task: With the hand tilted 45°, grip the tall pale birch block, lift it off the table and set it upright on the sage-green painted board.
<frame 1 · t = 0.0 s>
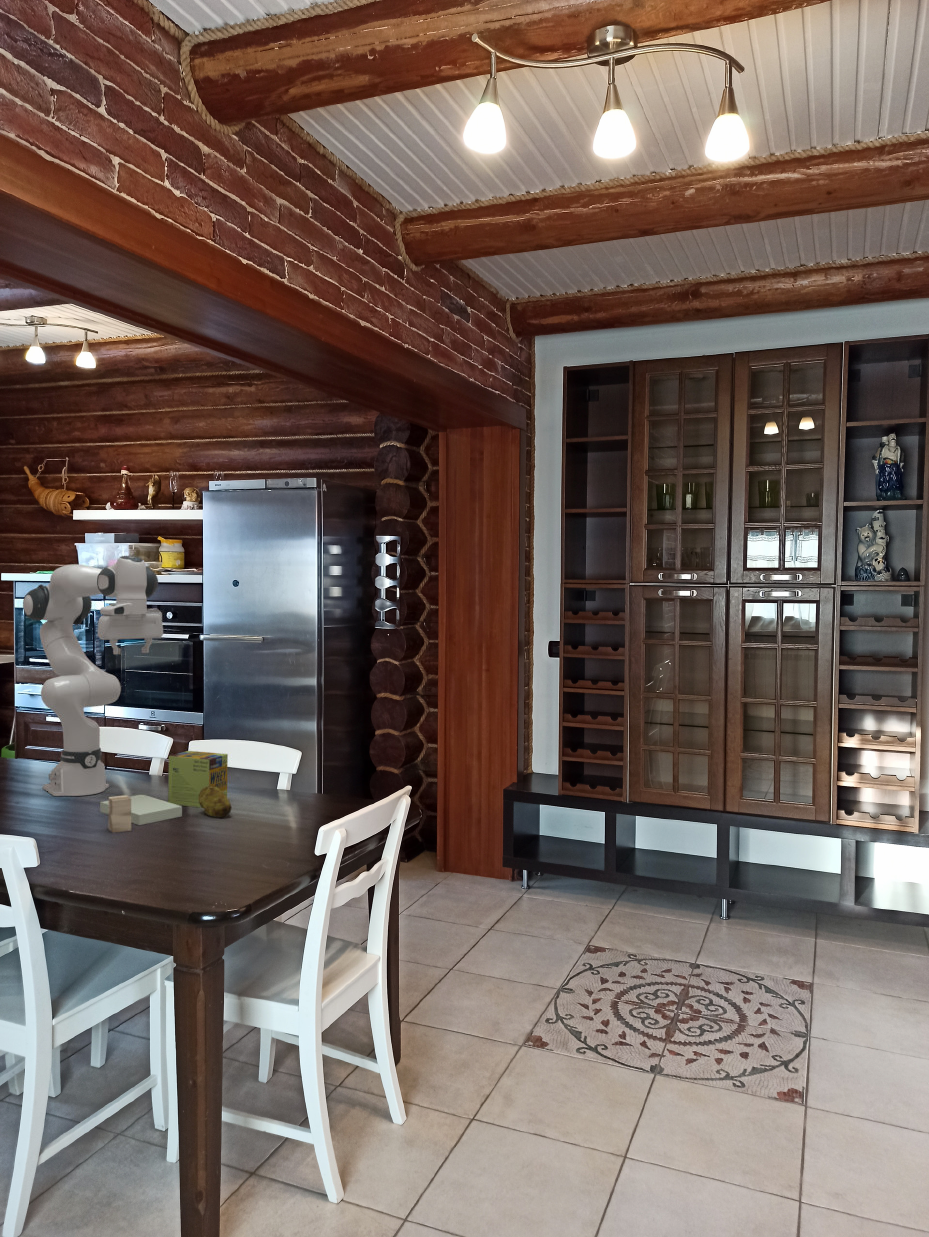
hand: (131, 653, 280), 48 cm above the table, tool pointing down, fingers open, 8 cm apart
protein box: (198, 803, 290), on the table
potato: (214, 815, 276), on the table
green board: (140, 814, 275), on the table
birch block: (119, 829, 258), on the table
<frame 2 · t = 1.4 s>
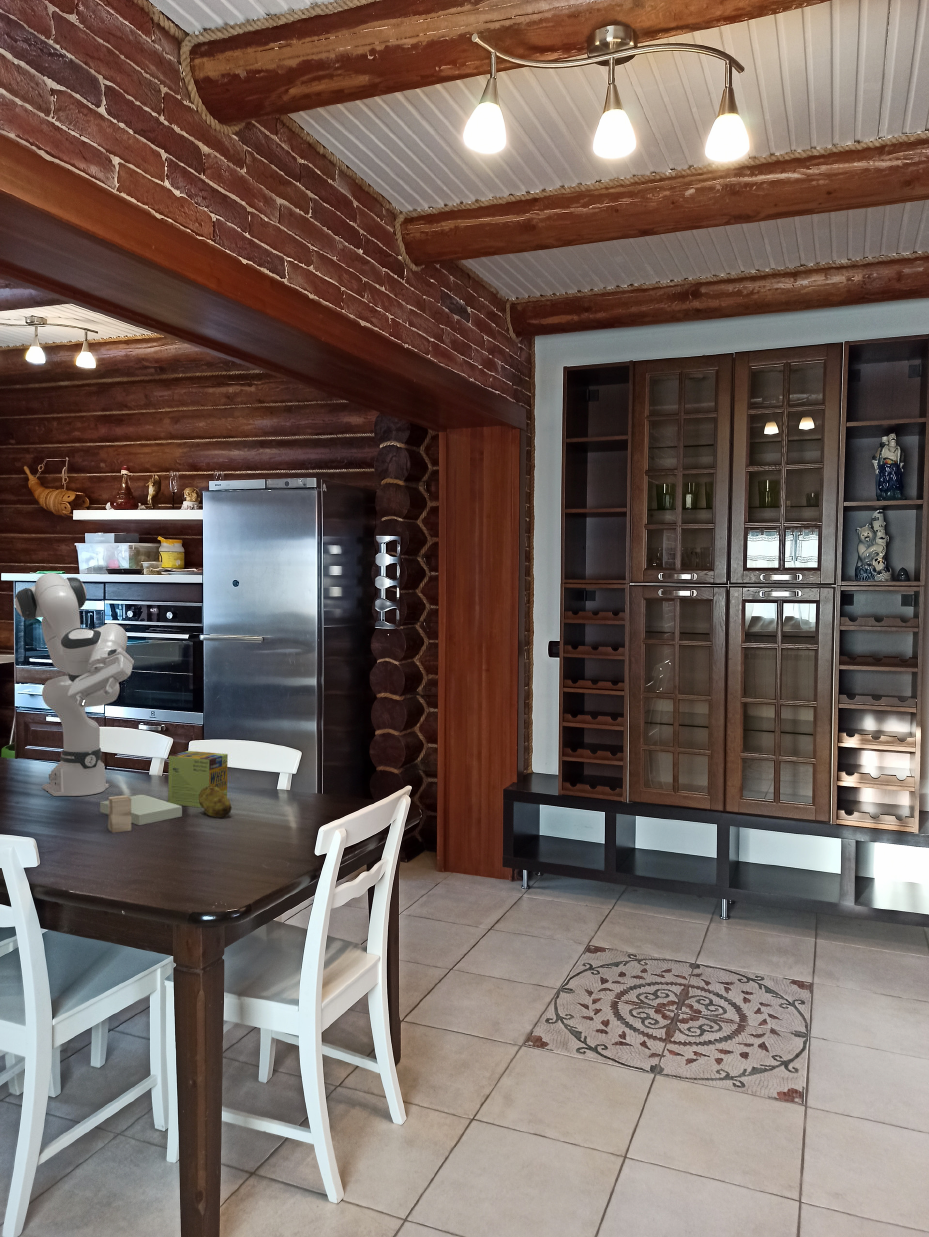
hand: (93, 698, 257), 37 cm above the table, tool tilted 55°, fingers open, 8 cm apart
nothing on the table moved.
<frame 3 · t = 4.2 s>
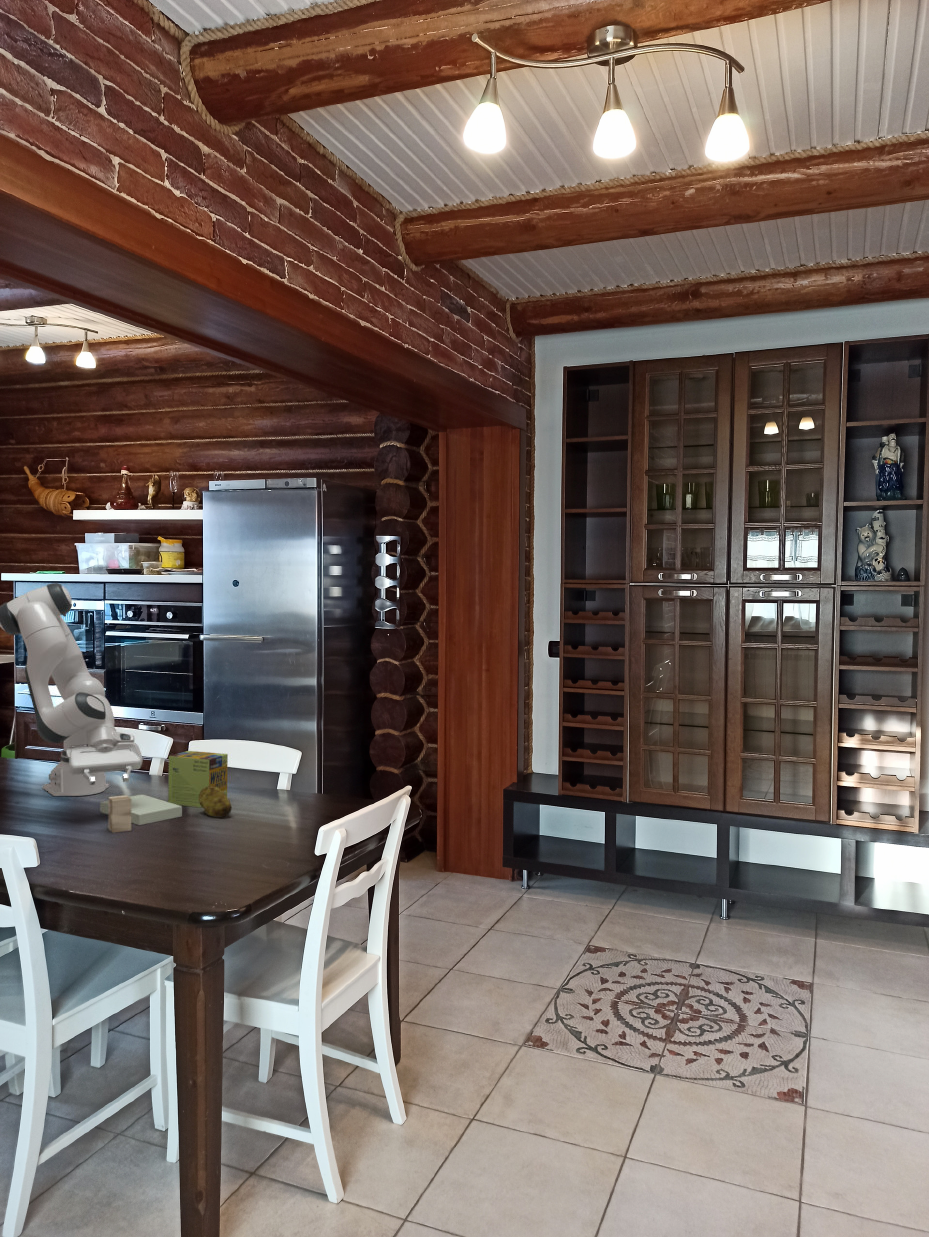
hand: (109, 782, 263), 12 cm above the table, tool tilted 45°, fingers open, 8 cm apart
nothing on the table moved.
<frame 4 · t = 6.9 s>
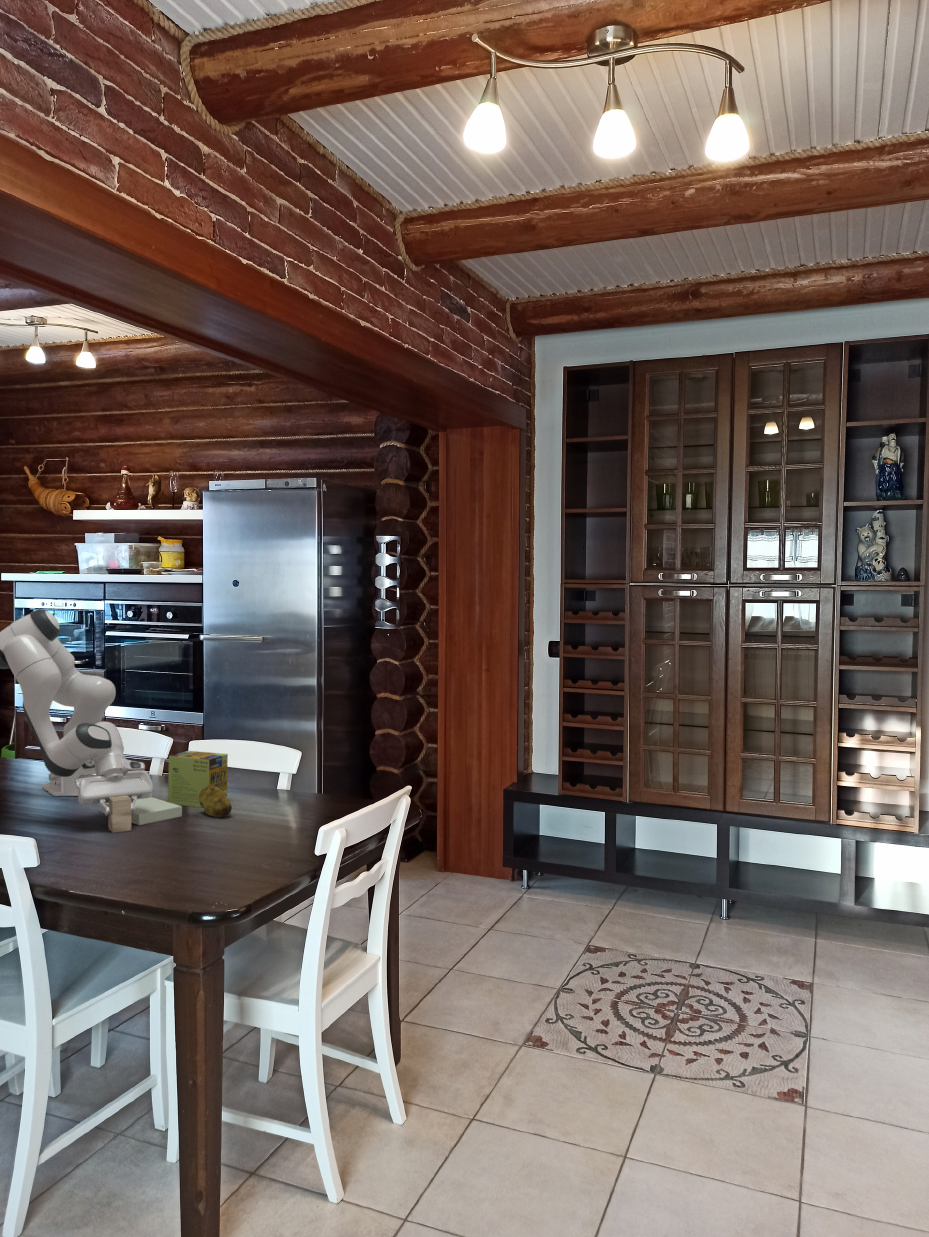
hand: (120, 812, 257), 5 cm above the table, tool tilted 45°, fingers closed on birch block, 5 cm apart
birch block: (119, 829, 258), on the table, touching gripper
everything else where it was.
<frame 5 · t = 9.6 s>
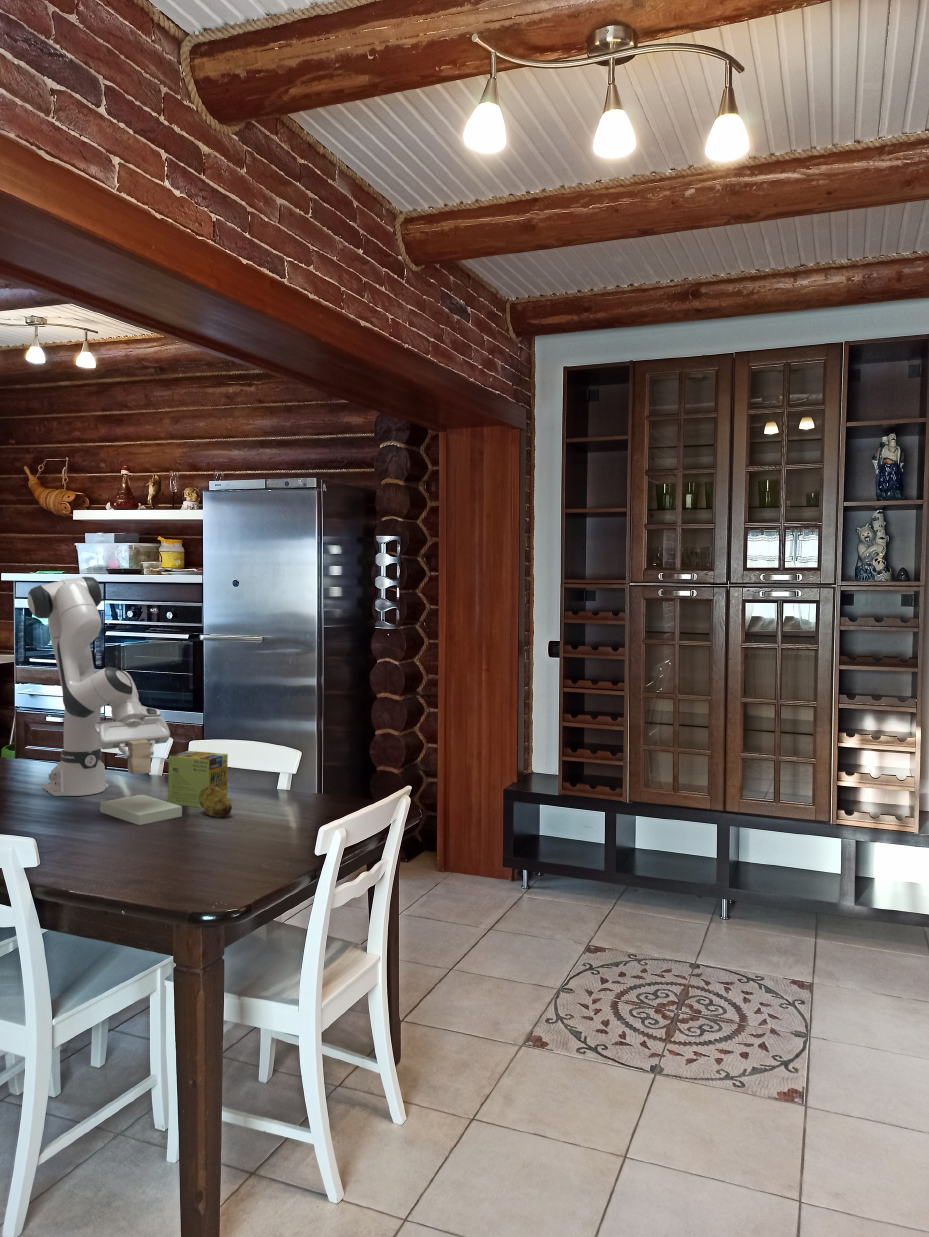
hand: (139, 756, 265), 19 cm above the table, tool tilted 45°, fingers closed on birch block, 5 cm apart
birch block: (139, 772, 266), point 14 cm above the table, touching gripper
everything else where it was.
when the fingers open (9 cm above the table, at t = 12.6 s): birch block drops 1 cm, resting on green board.
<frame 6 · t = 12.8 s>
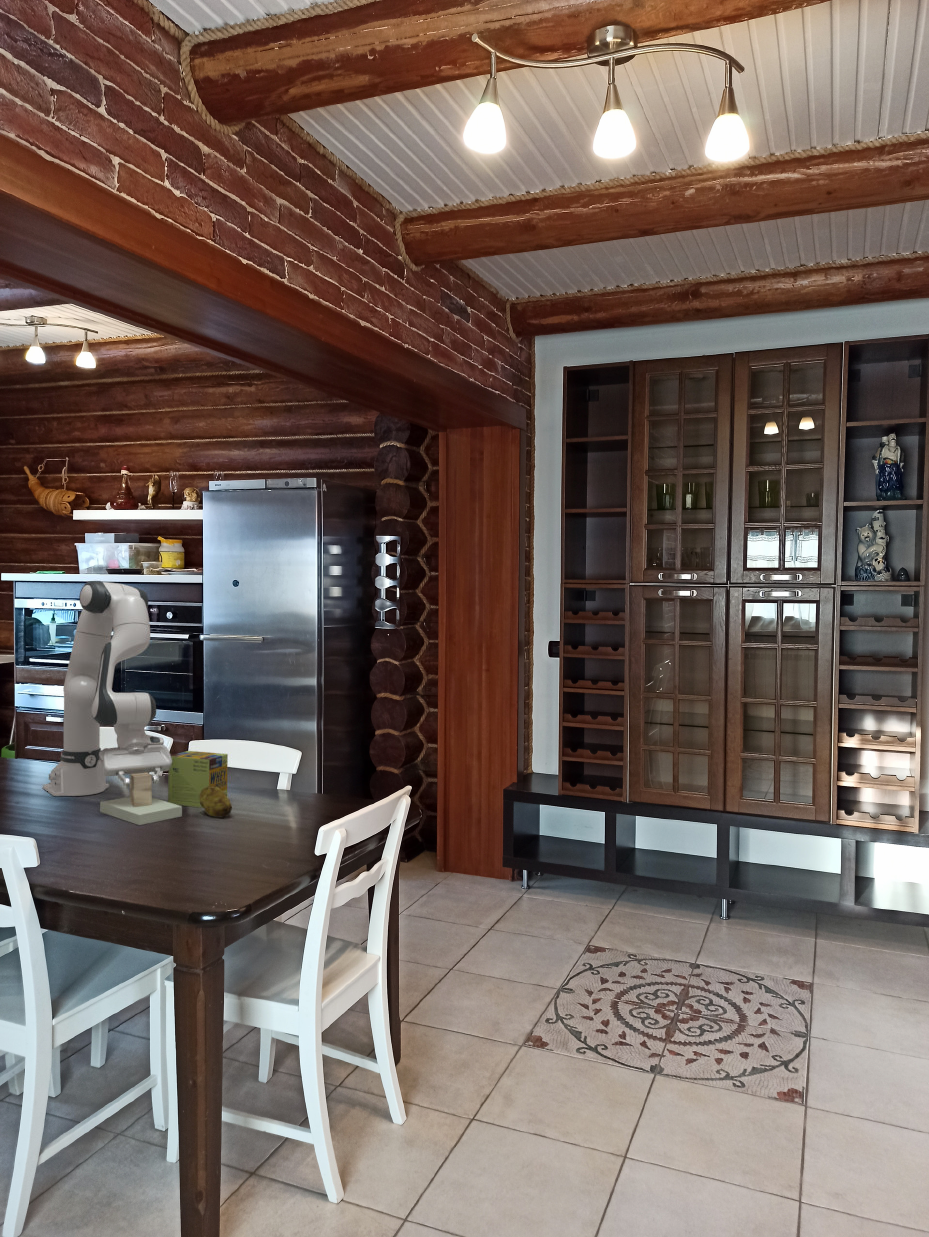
hand: (141, 783, 274), 9 cm above the table, tool tilted 45°, fingers open, 7 cm apart
birch block: (140, 804, 274), point 3 cm above the table, touching green board
everything else where it was.
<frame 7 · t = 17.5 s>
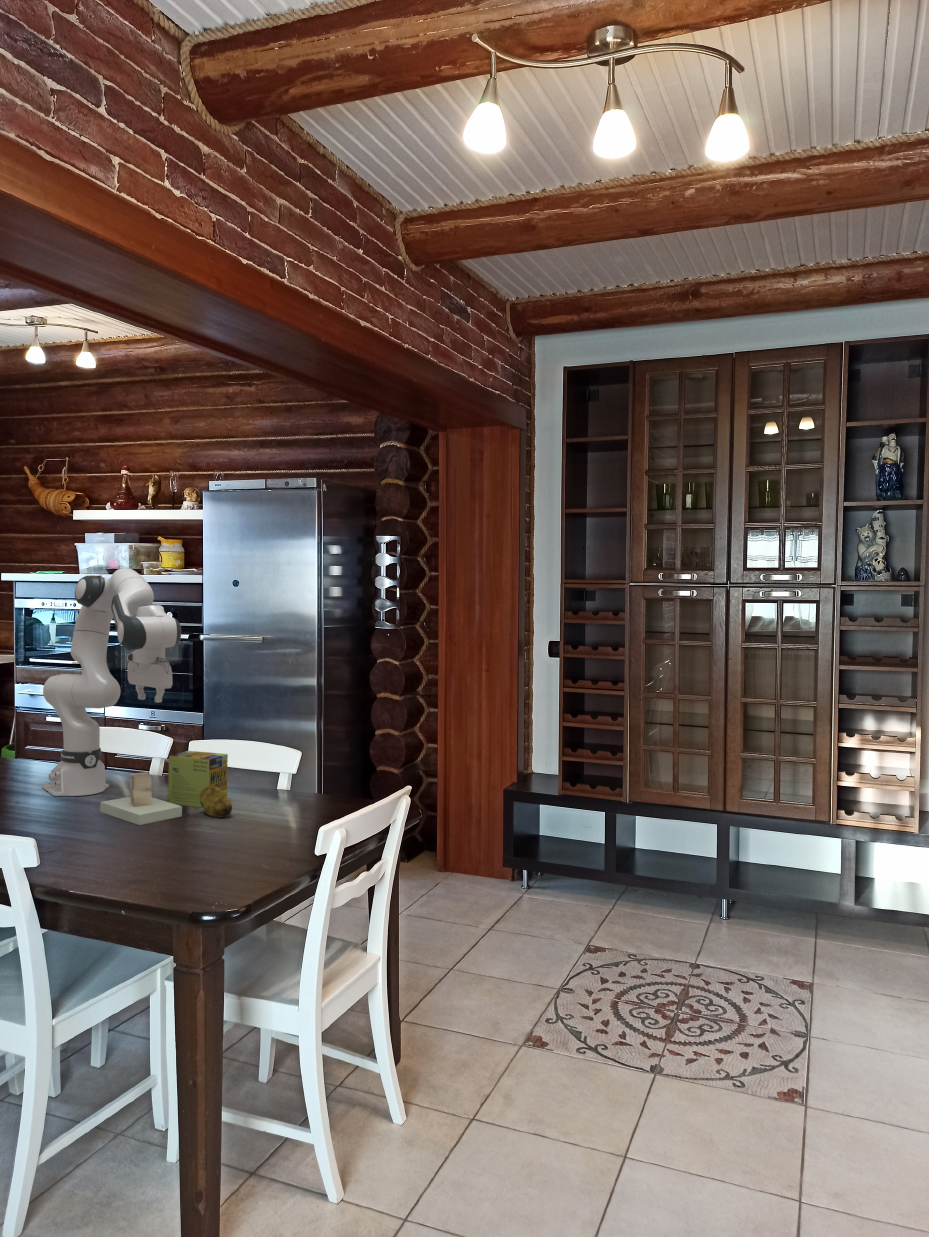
hand: (149, 700, 283), 33 cm above the table, tool pointing down, fingers open, 8 cm apart
nothing on the table moved.
at the end: birch block inside the target area on the green board (0.0 cm from its centre), point 3.0 cm above the green board's base; birch block tilted 0°; the gripper is holding nothing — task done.
